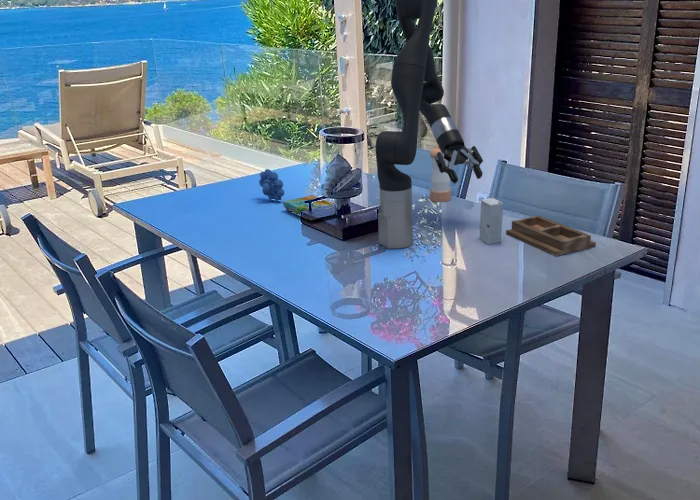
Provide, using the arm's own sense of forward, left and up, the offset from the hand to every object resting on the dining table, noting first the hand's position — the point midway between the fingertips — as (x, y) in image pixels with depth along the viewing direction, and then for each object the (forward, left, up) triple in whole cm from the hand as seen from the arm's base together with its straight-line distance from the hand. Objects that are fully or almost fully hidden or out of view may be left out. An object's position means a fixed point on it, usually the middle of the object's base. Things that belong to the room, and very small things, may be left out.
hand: (468, 179), depth 206 cm
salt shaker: (+11, +33, -16) cm, 38 cm away
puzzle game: (-34, +43, -16) cm, 57 cm away
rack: (+14, -21, -16) cm, 30 cm away
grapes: (-41, +66, -16) cm, 80 cm away
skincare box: (0, -12, -16) cm, 20 cm away
